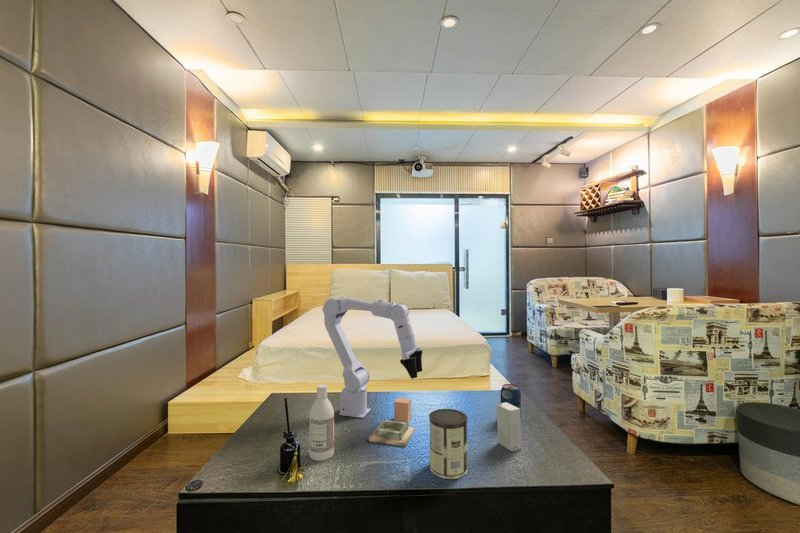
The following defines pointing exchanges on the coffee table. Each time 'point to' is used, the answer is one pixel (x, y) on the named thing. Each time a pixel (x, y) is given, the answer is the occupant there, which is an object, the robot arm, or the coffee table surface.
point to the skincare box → (509, 426)
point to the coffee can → (448, 443)
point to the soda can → (511, 395)
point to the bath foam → (321, 427)
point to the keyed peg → (402, 410)
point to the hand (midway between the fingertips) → (417, 374)
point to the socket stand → (392, 433)
